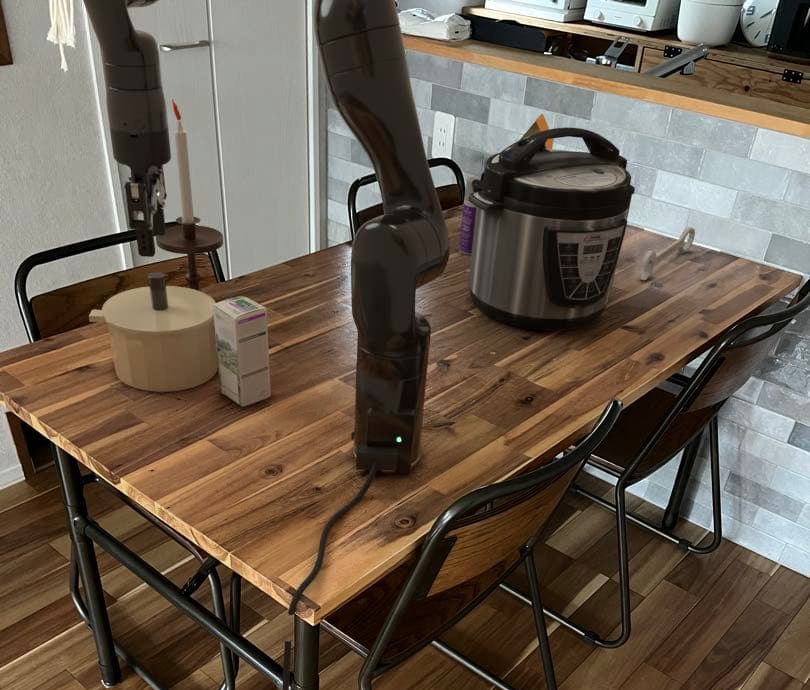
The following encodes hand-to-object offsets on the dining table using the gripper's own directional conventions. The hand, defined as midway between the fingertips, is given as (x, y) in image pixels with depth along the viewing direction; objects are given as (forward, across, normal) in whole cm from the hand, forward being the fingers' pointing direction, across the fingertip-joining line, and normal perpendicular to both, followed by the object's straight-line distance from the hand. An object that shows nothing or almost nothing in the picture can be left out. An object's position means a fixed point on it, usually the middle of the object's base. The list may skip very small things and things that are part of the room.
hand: (152, 244), depth 122 cm
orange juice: (+20, -97, +74) cm, 124 cm away
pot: (+20, 0, 0) cm, 20 cm away
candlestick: (+20, -19, +2) cm, 27 cm away
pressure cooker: (+20, -30, +65) cm, 74 cm away
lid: (+10, 0, 0) cm, 10 cm away
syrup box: (+20, +8, +13) cm, 25 cm away
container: (+20, -59, +55) cm, 83 cm away
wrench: (+20, -56, +98) cm, 115 cm away
